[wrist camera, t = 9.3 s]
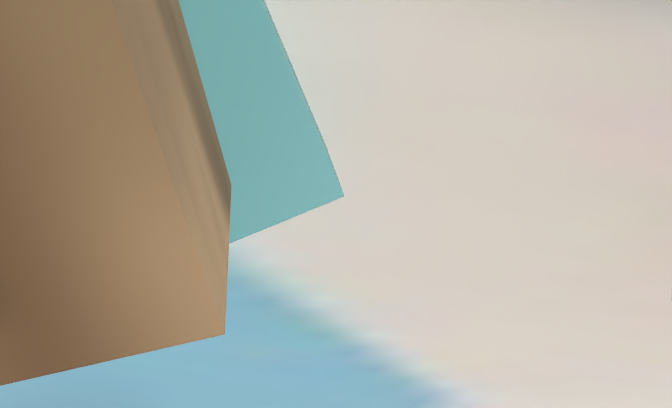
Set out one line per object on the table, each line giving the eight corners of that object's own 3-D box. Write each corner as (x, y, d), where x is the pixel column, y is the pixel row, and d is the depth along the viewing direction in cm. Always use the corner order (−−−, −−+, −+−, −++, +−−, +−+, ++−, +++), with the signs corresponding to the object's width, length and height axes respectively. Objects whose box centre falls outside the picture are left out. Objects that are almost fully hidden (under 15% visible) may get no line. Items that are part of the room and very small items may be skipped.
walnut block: (160, -64, 12) (96, -46, 7) (231, 185, 15) (224, 334, 10) (-126, -8, 12) (-423, 54, 7) (1, 235, 15) (-135, 416, 9)
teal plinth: (182, -194, 15) (162, -231, 11) (325, 144, 19) (344, 195, 16) (-168, -38, 15) (-295, -25, 11) (55, 257, 20) (14, 332, 16)
